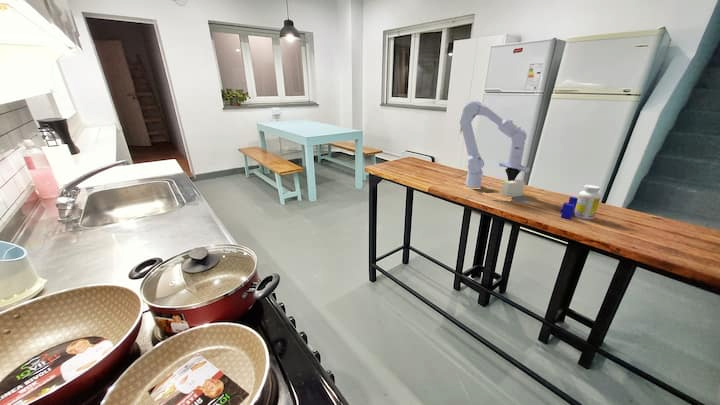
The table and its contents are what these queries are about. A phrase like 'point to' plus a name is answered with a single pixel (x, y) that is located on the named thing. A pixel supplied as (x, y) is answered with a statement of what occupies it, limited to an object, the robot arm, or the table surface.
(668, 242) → the table surface
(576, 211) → the supplement bottle
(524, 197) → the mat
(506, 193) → the card box
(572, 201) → the blue l-shaped block
